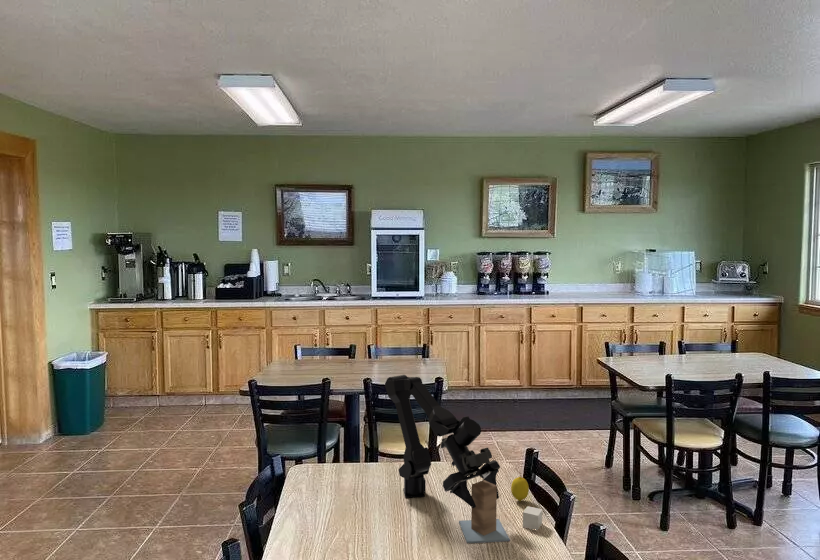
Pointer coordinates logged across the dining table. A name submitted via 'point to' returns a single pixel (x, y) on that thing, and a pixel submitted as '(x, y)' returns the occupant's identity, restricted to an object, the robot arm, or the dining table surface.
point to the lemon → (519, 488)
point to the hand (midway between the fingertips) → (486, 503)
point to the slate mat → (476, 537)
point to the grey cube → (532, 518)
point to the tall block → (484, 507)
